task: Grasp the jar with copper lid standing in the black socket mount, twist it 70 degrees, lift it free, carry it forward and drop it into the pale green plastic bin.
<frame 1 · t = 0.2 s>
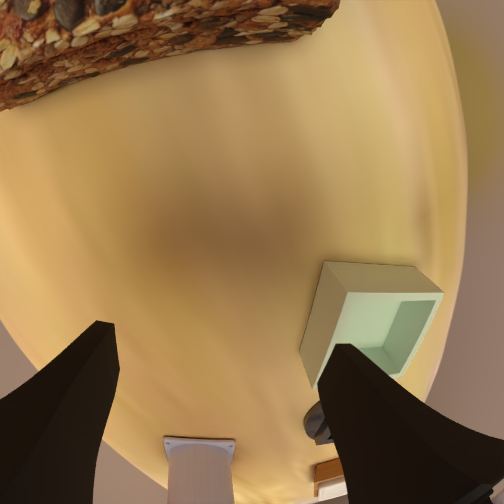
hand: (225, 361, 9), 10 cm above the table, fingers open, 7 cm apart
bread: (138, 1, 11), on the table
soap dish: (346, 461, 36), on the table
bin: (358, 311, 21), on the table
mount: (346, 411, 28), on the table
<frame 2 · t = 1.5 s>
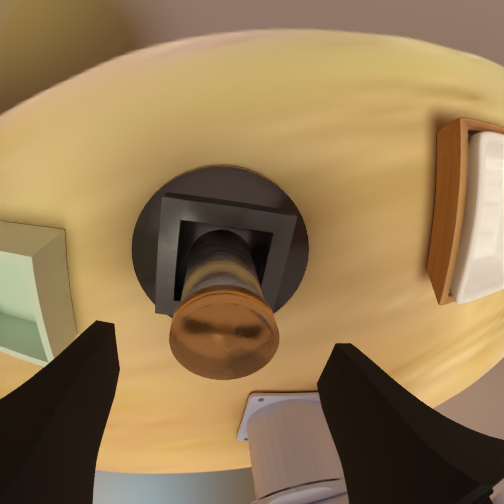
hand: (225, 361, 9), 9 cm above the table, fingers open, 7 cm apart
soap dish: (463, 199, 18), on the table
jar with copper lid: (220, 258, 16), point 1 cm above the table, touching mount
bin: (24, 277, 16), on the table
mount: (219, 251, 17), on the table
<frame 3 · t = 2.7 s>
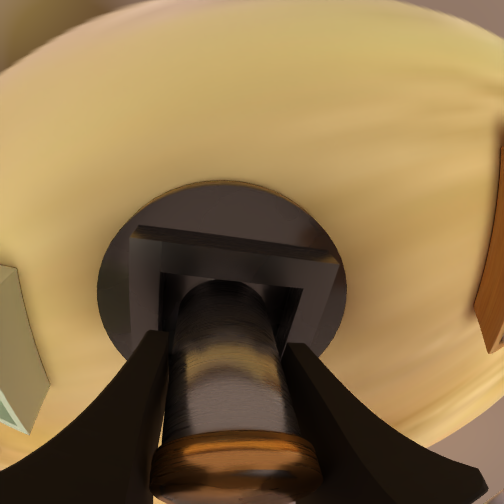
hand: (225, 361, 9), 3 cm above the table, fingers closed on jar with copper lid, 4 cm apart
jar with copper lid: (222, 317, 11), point 1 cm above the table, touching gripper, mount
mount: (221, 303, 12), on the table
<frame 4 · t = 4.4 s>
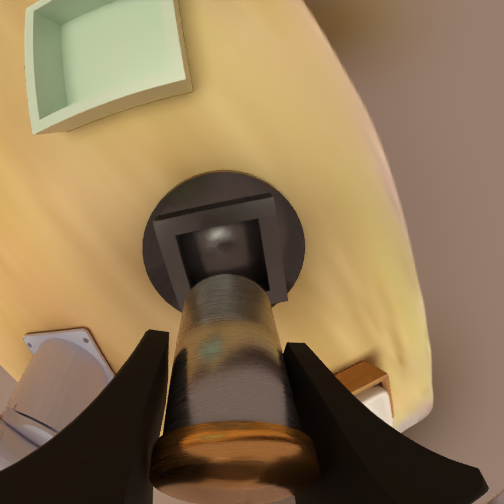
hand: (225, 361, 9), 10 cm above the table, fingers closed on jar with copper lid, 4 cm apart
soap dish: (323, 399, 27), on the table
jar with copper lid: (227, 312, 11), point 8 cm above the table, touching gripper
bin: (116, 50, 13), on the table
mount: (223, 249, 18), on the table
when the fingers open (5 cm above the table, at t = 6.6 s): jar with copper lid drops 1 cm, resting on bin.
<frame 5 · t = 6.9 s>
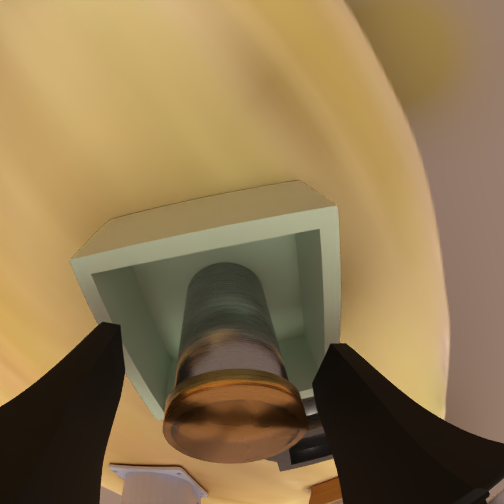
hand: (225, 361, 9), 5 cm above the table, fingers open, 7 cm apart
soap dish: (354, 475, 28), on the table
jar with copper lid: (225, 296, 13), point 1 cm above the table, touching bin
bin: (220, 285, 13), on the table
mount: (313, 424, 19), on the table
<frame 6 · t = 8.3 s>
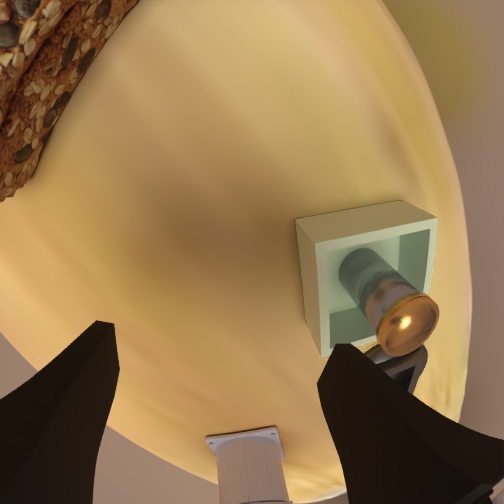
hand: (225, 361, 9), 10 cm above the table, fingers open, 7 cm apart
bread: (49, 41, 11), on the table
jar with copper lid: (360, 269, 20), point 1 cm above the table, touching bin
bin: (355, 263, 20), on the table
mount: (383, 372, 26), on the table
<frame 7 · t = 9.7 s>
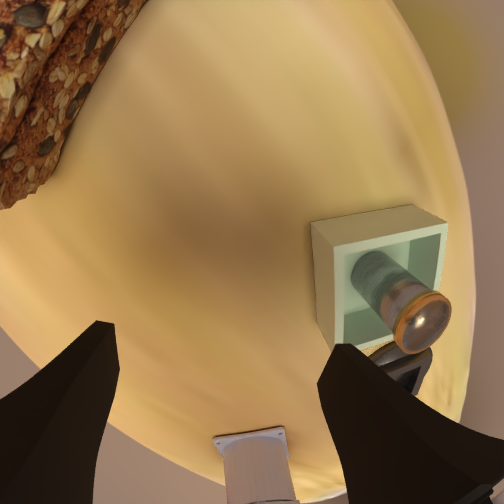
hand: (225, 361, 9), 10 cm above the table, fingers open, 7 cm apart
bread: (63, 36, 12), on the table
jar with copper lid: (371, 272, 20), point 1 cm above the table, touching bin
bin: (366, 265, 20), on the table
mount: (389, 373, 26), on the table
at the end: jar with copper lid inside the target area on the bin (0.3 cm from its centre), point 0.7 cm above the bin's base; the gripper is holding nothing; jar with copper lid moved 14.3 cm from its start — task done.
